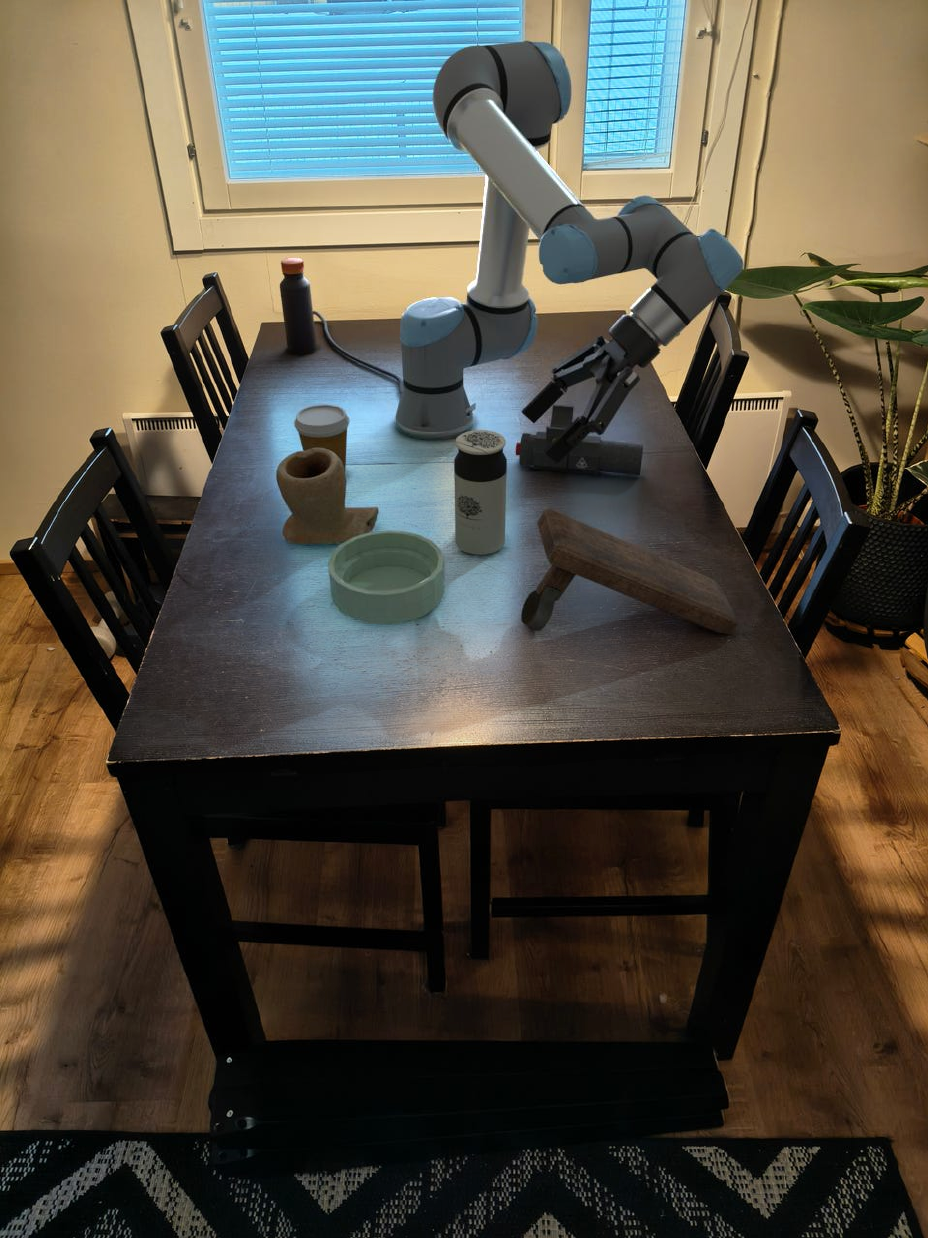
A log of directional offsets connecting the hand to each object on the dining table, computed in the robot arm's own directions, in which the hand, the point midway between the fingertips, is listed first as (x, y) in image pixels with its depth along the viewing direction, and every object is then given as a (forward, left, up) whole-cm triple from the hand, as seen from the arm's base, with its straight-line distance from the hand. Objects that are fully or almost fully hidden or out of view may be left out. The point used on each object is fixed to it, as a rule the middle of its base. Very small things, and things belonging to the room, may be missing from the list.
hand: (538, 436), depth 137 cm
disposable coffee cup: (-36, -20, -18) cm, 45 cm away
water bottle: (-96, 0, -18) cm, 98 cm away
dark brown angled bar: (+25, -1, -18) cm, 31 cm away
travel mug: (-3, -8, -18) cm, 20 cm away
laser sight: (-15, +20, -18) cm, 31 cm away
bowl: (+2, -27, -18) cm, 33 cm away
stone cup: (-17, -28, -18) cm, 38 cm away
